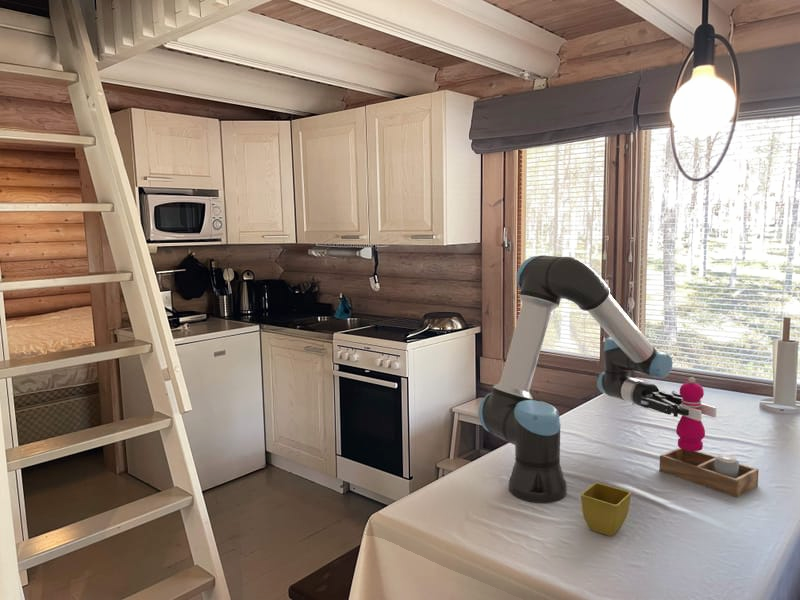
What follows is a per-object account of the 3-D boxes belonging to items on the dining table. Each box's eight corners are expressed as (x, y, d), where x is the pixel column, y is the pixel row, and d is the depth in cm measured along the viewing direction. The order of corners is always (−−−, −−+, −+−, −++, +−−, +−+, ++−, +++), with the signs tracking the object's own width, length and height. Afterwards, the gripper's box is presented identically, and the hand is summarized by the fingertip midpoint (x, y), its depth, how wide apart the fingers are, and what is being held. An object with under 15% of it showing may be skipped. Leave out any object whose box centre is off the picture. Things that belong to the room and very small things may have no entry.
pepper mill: (698, 442, 169) (700, 373, 167) (709, 452, 162) (711, 380, 159) (672, 442, 170) (673, 374, 167) (681, 452, 163) (683, 380, 160)
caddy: (736, 501, 151) (737, 480, 150) (659, 473, 168) (659, 455, 168) (757, 489, 157) (758, 469, 156) (681, 464, 174) (681, 446, 174)
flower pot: (631, 528, 139) (632, 491, 138) (616, 543, 133) (617, 505, 132) (595, 516, 145) (595, 481, 144) (579, 531, 139) (579, 494, 138)
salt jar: (731, 490, 154) (732, 463, 153) (709, 483, 159) (710, 457, 158) (742, 484, 158) (743, 458, 157) (720, 478, 162) (721, 452, 161)
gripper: (662, 400, 185) (730, 422, 164) (617, 409, 178) (683, 433, 157) (662, 377, 184) (731, 395, 163) (618, 385, 177) (684, 405, 156)
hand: (707, 414), depth 160 cm, fingers closed on pepper mill, 5 cm apart
